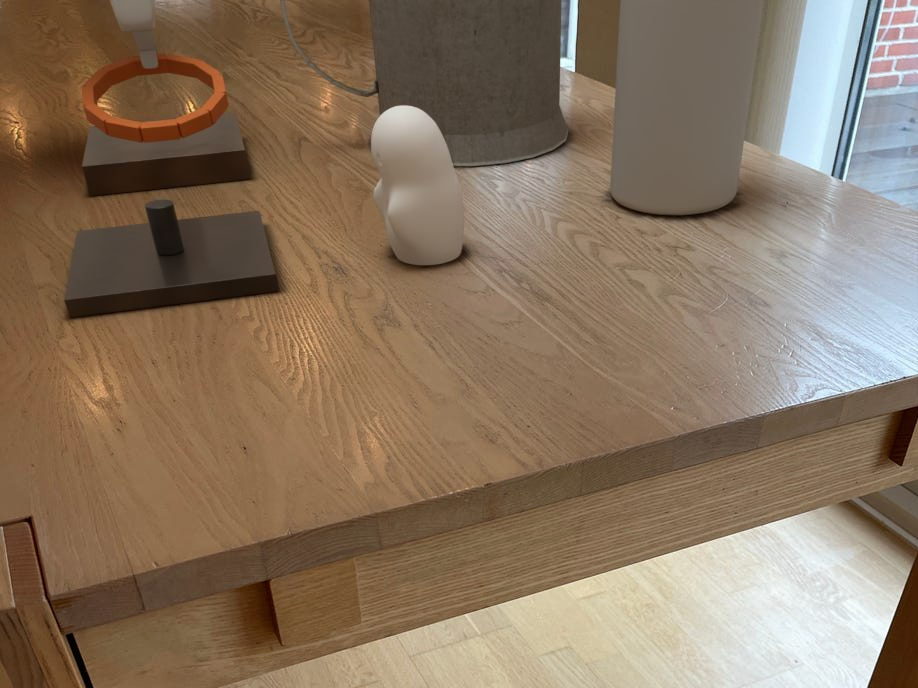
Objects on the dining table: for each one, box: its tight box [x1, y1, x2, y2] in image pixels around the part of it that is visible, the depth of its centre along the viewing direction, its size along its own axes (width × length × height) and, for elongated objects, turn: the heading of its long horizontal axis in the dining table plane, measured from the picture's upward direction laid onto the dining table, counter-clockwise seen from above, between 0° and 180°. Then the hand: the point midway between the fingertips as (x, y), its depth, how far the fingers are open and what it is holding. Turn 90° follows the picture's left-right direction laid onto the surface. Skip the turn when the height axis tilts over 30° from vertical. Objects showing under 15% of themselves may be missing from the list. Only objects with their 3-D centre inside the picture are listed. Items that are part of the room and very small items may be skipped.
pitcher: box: [279, 0, 569, 167], centre depth 105 cm, size 23×32×25 cm
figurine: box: [370, 105, 465, 266], centre depth 82 cm, size 7×8×12 cm
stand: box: [81, 112, 251, 197], centre depth 108 cm, size 17×17×3 cm
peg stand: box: [63, 198, 279, 318], centre depth 83 cm, size 17×17×6 cm
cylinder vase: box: [609, 0, 765, 216], centre depth 87 cm, size 12×12×25 cm
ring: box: [81, 53, 229, 143], centre depth 105 cm, size 15×15×2 cm
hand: (151, 65), depth 108 cm, fingers closed on ring, 1 cm apart
